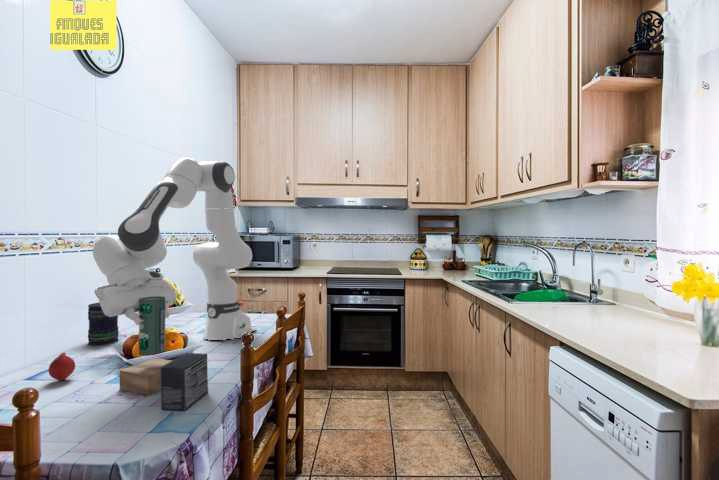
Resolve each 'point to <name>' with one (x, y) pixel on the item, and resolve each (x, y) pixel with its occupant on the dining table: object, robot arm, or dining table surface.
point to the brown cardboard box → (143, 377)
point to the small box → (184, 382)
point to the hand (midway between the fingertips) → (154, 320)
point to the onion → (61, 367)
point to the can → (152, 326)
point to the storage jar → (101, 326)
